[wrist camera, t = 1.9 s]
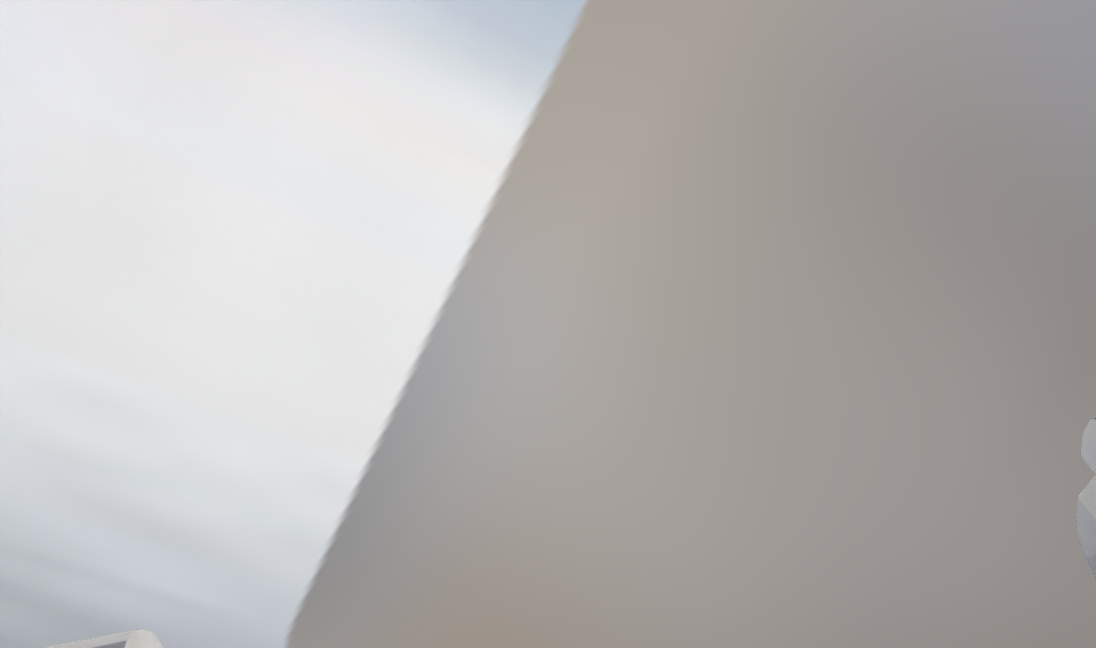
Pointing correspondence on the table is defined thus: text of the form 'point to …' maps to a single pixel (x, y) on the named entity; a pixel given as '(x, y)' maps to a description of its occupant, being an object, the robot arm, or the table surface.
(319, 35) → the table surface
